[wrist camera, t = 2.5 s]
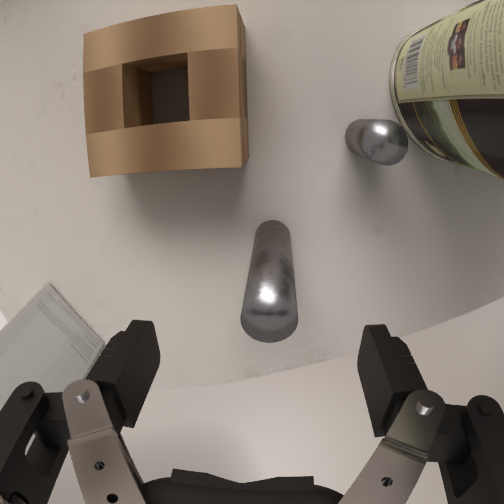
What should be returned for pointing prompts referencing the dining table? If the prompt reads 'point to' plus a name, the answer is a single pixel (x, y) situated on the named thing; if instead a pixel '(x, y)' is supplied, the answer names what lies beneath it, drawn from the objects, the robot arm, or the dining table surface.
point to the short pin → (377, 140)
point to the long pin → (270, 286)
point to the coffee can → (455, 87)
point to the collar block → (140, 101)
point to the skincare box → (45, 346)
